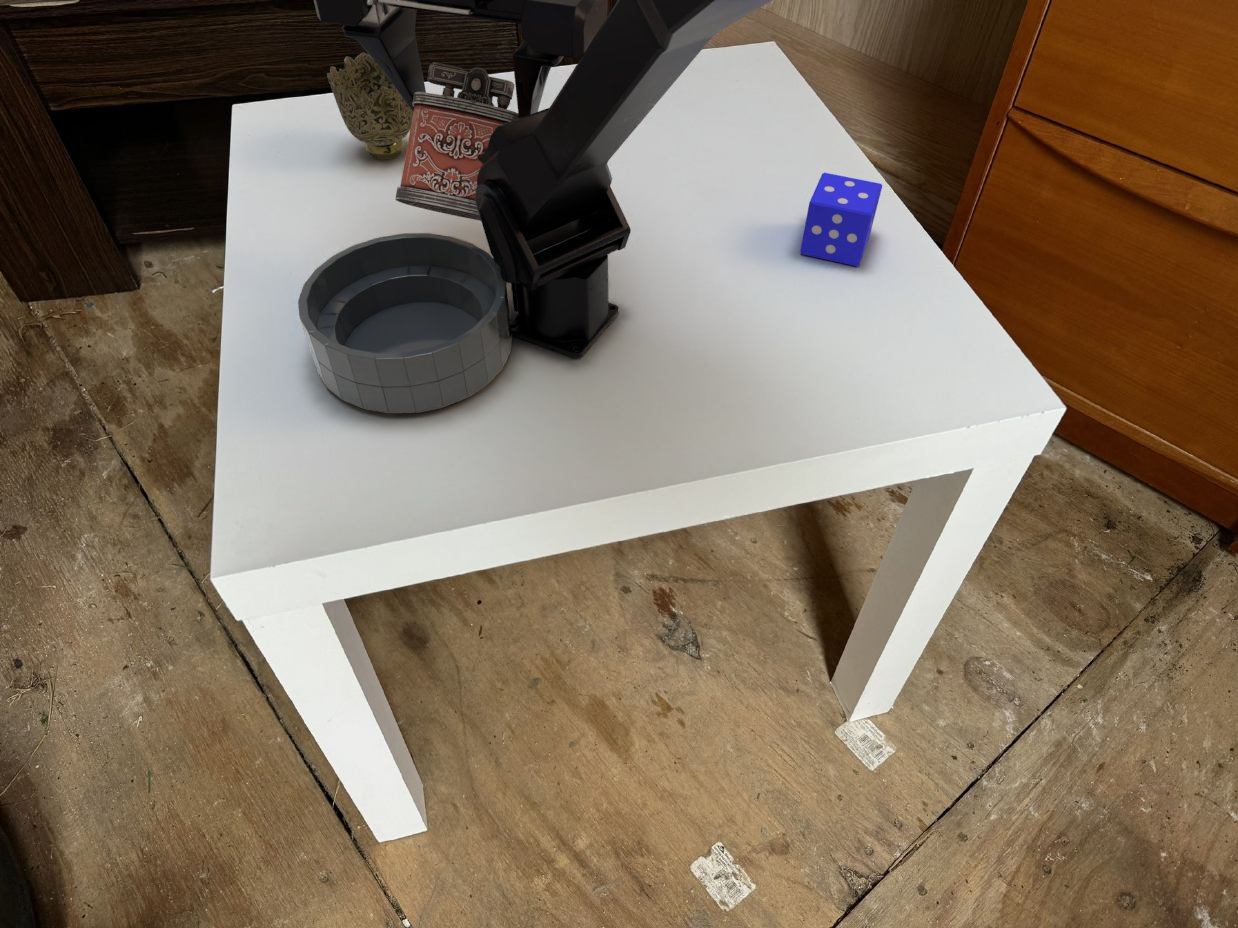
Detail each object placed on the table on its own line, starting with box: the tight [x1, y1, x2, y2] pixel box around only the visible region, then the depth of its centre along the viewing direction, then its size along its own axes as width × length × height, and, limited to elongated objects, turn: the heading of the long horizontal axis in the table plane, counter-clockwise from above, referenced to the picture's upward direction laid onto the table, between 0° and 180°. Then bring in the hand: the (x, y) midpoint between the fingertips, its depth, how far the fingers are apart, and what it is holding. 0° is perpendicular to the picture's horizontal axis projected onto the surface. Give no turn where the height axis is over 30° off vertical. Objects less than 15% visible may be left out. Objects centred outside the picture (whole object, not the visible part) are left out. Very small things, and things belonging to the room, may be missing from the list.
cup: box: [326, 51, 413, 160], centre depth 82 cm, size 8×7×8 cm
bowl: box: [297, 232, 513, 414], centre depth 64 cm, size 14×14×6 cm
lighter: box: [394, 62, 519, 222], centre depth 63 cm, size 8×3×10 cm
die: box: [799, 172, 883, 267], centre depth 73 cm, size 5×5×5 cm
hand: (474, 124), depth 64 cm, fingers closed on lighter, 8 cm apart
